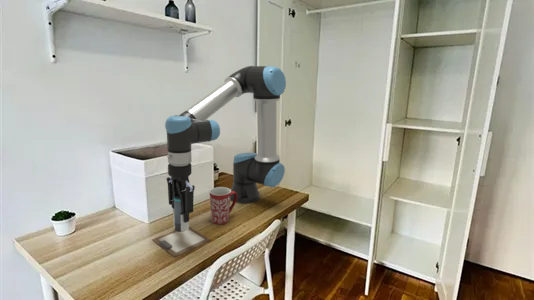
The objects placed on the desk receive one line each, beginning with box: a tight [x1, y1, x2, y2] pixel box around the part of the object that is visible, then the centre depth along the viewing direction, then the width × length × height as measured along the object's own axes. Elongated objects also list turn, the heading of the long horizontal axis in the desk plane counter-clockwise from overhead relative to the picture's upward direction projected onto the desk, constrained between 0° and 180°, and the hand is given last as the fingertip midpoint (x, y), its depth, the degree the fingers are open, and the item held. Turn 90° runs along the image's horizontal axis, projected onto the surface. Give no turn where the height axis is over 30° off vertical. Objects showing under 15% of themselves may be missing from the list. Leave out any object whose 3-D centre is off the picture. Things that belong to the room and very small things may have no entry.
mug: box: [208, 186, 237, 225], centre depth 124 cm, size 13×9×14 cm
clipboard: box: [152, 226, 211, 258], centre depth 108 cm, size 15×15×1 cm
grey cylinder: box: [174, 195, 183, 232], centre depth 101 cm, size 4×4×12 cm
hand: (181, 227), depth 103 cm, fingers closed on grey cylinder, 4 cm apart
